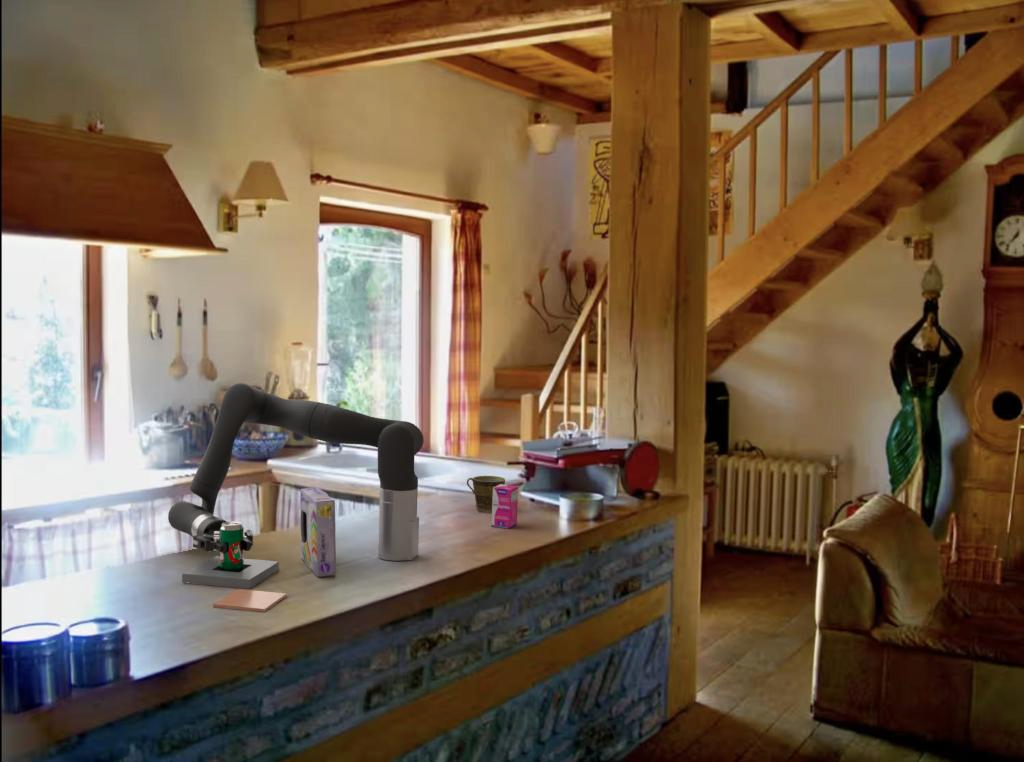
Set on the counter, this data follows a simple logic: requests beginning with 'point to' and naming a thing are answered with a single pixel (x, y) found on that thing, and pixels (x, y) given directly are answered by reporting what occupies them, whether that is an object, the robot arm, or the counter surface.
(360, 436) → the robot arm
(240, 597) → the terracotta tile
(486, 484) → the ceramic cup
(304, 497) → the cake pan box
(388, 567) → the counter surface
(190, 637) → the counter surface
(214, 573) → the frame
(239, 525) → the soda can
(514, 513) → the supplement box
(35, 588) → the counter surface
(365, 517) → the counter surface
